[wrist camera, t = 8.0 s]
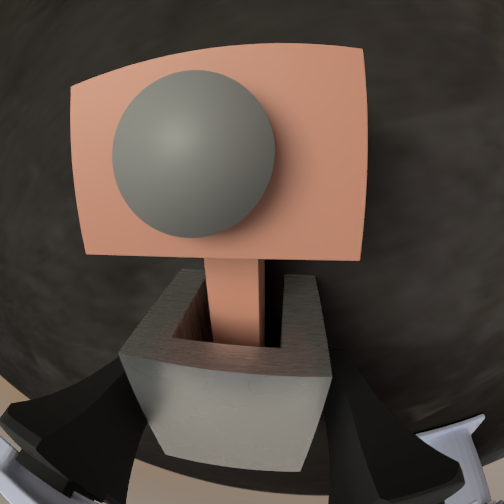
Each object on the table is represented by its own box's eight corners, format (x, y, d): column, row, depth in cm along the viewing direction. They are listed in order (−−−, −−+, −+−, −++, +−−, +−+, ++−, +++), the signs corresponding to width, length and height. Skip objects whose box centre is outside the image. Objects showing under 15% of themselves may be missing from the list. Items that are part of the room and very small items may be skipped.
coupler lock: (300, 379, 13) (300, 471, 8) (197, 370, 13) (165, 454, 8) (314, 275, 11) (331, 376, 6) (182, 268, 11) (118, 352, 6)
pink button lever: (305, 394, 13) (305, 485, 8) (196, 386, 14) (167, 469, 9) (325, 95, 8) (371, 38, 3) (159, 105, 9) (53, 84, 4)
